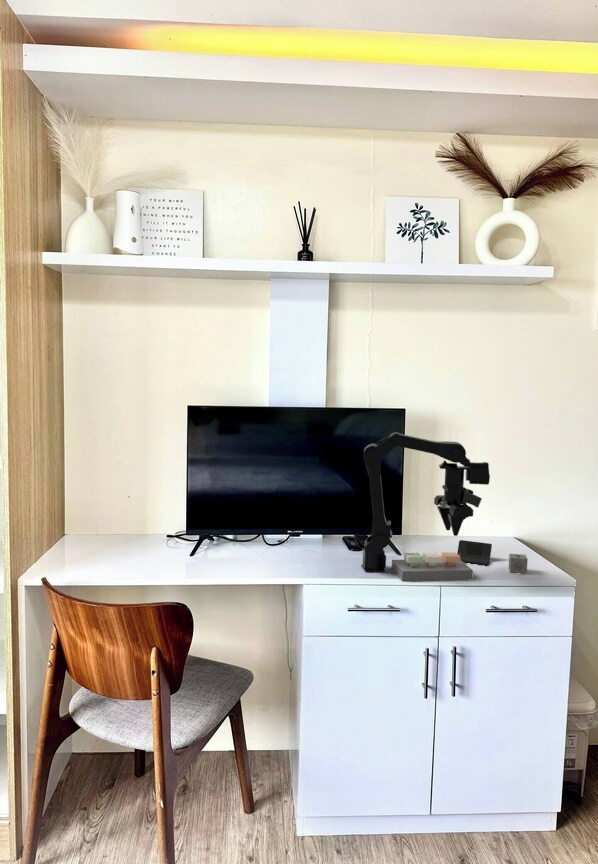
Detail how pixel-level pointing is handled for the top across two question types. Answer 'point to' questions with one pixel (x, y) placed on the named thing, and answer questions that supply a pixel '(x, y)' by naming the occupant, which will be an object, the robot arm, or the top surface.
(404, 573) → the gray rectangular slab
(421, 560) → the pale green cube
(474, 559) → the handheld gaming console
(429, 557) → the cream cube
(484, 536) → the top surface
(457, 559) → the peach cube
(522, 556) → the dice cube
